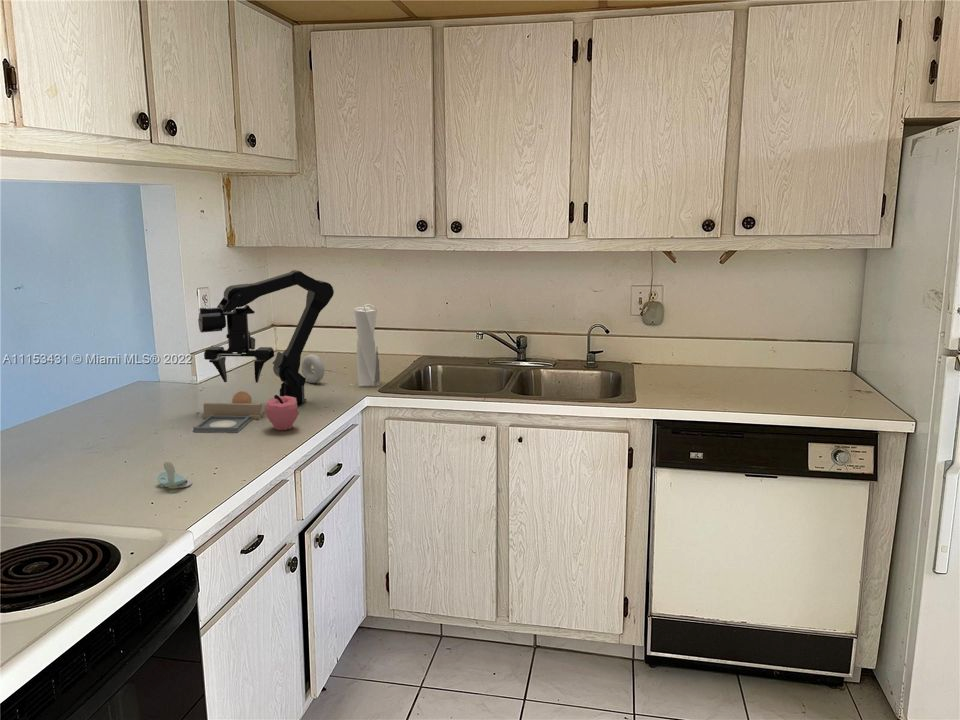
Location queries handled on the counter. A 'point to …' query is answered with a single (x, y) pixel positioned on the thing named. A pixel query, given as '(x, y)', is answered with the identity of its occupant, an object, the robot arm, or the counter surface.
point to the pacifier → (172, 477)
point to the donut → (307, 368)
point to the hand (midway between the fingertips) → (241, 382)
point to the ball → (242, 398)
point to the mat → (223, 424)
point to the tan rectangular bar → (232, 410)
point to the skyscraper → (367, 347)
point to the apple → (282, 411)
